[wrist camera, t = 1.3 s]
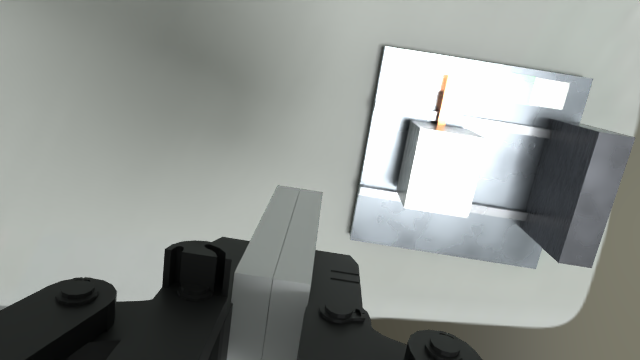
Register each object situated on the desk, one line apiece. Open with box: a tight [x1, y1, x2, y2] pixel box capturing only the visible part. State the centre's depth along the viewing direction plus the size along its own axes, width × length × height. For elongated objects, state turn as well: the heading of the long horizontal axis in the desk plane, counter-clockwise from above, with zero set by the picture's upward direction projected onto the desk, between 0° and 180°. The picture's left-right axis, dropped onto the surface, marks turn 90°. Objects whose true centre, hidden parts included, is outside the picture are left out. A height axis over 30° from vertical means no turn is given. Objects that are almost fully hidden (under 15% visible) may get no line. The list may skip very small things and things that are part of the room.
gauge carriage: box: [396, 75, 488, 218], centre depth 29 cm, size 8×4×4 cm, turn 171°
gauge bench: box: [350, 46, 635, 269], centre depth 30 cm, size 14×14×7 cm
